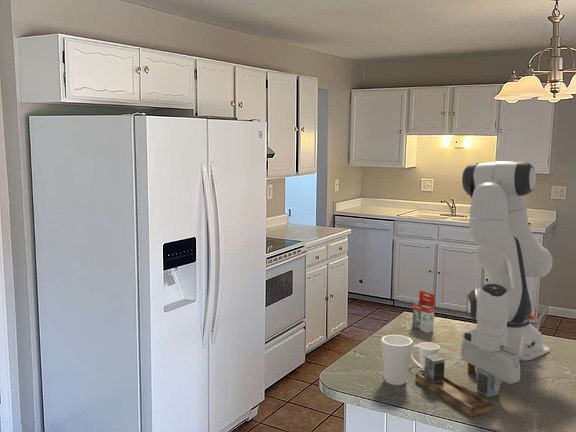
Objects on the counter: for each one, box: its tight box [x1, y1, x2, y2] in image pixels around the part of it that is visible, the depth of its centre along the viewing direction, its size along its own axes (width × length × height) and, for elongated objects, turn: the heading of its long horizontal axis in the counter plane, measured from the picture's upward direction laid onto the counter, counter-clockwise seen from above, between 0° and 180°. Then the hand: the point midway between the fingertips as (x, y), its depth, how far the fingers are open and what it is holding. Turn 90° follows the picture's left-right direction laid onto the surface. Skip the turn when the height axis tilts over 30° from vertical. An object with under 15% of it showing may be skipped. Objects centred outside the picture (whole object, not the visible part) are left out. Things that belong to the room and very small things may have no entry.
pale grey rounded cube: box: [476, 369, 499, 398], centre depth 167 cm, size 5×4×7 cm
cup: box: [410, 341, 441, 372], centre depth 185 cm, size 7×10×8 cm
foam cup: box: [380, 334, 414, 386], centre depth 175 cm, size 10×9×13 cm
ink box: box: [411, 289, 436, 334], centre depth 221 cm, size 4×8×15 cm, turn 35°
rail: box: [415, 354, 492, 417], centre depth 165 cm, size 24×7×8 cm, turn 25°
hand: (488, 385), depth 168 cm, fingers open, 4 cm apart
